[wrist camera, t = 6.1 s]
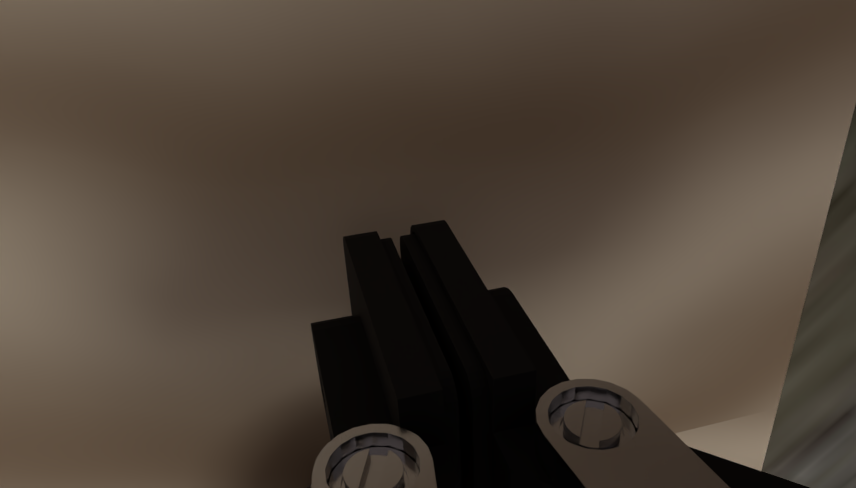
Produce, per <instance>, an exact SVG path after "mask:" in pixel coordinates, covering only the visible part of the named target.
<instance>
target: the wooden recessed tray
mask: <svg viewBox="0 0 856 488" xmlns="http://www.w3.org/2000/svg"><path fill="white" fill-rule="evenodd" d="M855 104H856V0H0V488H306V487H307V486H308V485H310V484H311V483H312V472H313V468H314V464H315V460H316V458H317V456H318V455H319V453H320V452H321V450H322V449H323V447H324V446H325V445H326V444H328V443H329V442H330V441H331V439H330V434H329V429H328V424H327V418H326V413H325V408H324V402H323V397H322V391H321V385H320V380H319V374H318V368H317V362H316V355H315V349H314V343H313V336H312V330H311V323H314V322H320V321H325V320H330V319H336V318H341V317H346V316H352V312H351V304H350V296H349V288H348V279H347V271H346V263H345V255H344V246H343V236H349V235H355V234H361V233H367V232H374V231H377V233H378V235H379V237H380V239H385V238H392V240H393V243H394V245H395V247H396V249H397V252H398V254H399V256H400V258H401V254H400V236H403V235H409V234H410V229H411V225H416V224H422V223H428V222H434V221H440V220H445V221H446V222H447V224H448V225H449V227H450V229H451V230H452V232H453V234H454V235H455V237H456V239H457V240H458V242H459V243H460V245H461V247H462V248H463V250H464V252H465V253H466V255H467V257H468V258H469V260H470V262H471V263H472V265H473V266H474V268H475V270H476V271H477V273H478V275H479V276H480V278H481V280H482V281H483V283H484V285H485V286H486V288H487V289H488V290H491V289H496V288H501V287H506V288H509V289H510V291H511V292H512V293H513V294H514V296H515V297H516V299H517V300H518V302H519V303H520V305H521V306H522V308H523V309H524V311H525V312H526V314H527V316H528V317H529V319H530V320H531V322H532V323H533V325H534V326H535V328H536V329H537V331H538V332H539V334H540V335H541V337H542V338H543V340H544V341H545V343H546V344H547V346H548V347H549V349H550V350H551V352H552V353H553V355H554V356H555V358H556V360H557V361H558V363H559V364H560V366H561V367H562V369H563V370H564V372H565V373H566V375H567V376H568V378H569V379H570V380H574V379H597V380H602V381H606V382H611V383H614V384H616V385H618V386H620V387H623V388H625V389H627V390H628V391H630V392H631V393H632V394H634V395H635V396H636V397H638V398H639V399H640V400H641V401H642V402H643V403H644V404H645V405H646V406H647V407H648V408H649V409H650V410H652V411H653V412H654V413H655V414H656V415H657V416H658V417H659V418H660V419H661V420H662V421H663V422H664V423H665V424H666V425H667V426H668V427H669V428H670V429H671V430H672V431H673V432H674V433H675V434H676V435H677V436H678V437H679V438H680V439H681V440H682V441H683V442H684V443H685V444H686V445H687V446H688V447H691V448H694V449H697V450H700V451H703V452H706V453H709V454H712V455H715V456H718V457H721V458H724V459H727V460H730V461H732V462H735V463H738V464H741V465H744V466H747V467H750V468H753V469H756V470H759V471H761V470H762V466H763V462H764V458H765V454H766V450H767V447H768V443H769V439H770V435H771V431H772V427H773V423H774V419H775V415H776V412H777V408H778V404H779V400H780V396H781V392H782V388H783V384H784V380H785V377H786V373H787V369H788V365H789V361H790V357H791V353H792V349H793V345H794V342H795V338H796V334H797V330H798V326H799V322H800V318H801V314H802V310H803V307H804V303H805V299H806V295H807V291H808V287H809V283H810V279H811V275H812V272H813V268H814V264H815V260H816V256H817V252H818V248H819V244H820V240H821V237H822V233H823V229H824V225H825V221H826V217H827V213H828V209H829V205H830V202H831V198H832V194H833V190H834V186H835V182H836V178H837V174H838V170H839V166H840V163H841V159H842V155H843V151H844V147H845V143H846V139H847V135H848V131H849V128H850V124H851V120H852V116H853V112H854V108H855Z"/></svg>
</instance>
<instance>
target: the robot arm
mask: <svg viewBox="0 0 856 488" xmlns="http://www.w3.org/2000/svg"><path fill="white" fill-rule="evenodd" d="M343 246H344V255H345V263H346V271H347V279H348V288H349V296H350V304H351V312H352V316H346V317H341V318H336V319H330V320H325V321H320V322H314V323H311V330H312V336H313V343H314V349H315V355H316V362H317V368H318V374H319V380H320V385H321V391H322V397H323V402H324V408H325V413H326V418H327V424H328V429H329V434H330V439H331V441H330V442H329V443H328V444H326V445H325V446H324V447H323V449H322V450H321V452H320V453H319V455H318V456H317V458H316V460H315V464H314V468H313V472H312V484H311V488H809V487H806V486H803V485H800V484H797V483H794V482H791V481H789V480H786V479H783V478H780V477H777V476H774V475H771V474H768V473H765V472H762V471H759V470H756V469H753V468H750V467H747V466H744V465H741V464H738V463H735V462H732V461H730V460H727V459H724V458H721V457H718V456H715V455H712V454H709V453H706V452H703V451H700V450H697V449H694V448H691V447H688V446H687V445H686V444H685V443H684V442H683V441H682V440H681V439H680V438H679V437H678V436H677V435H676V434H675V433H674V432H673V431H672V430H671V429H670V428H669V427H668V426H667V425H666V424H665V423H664V422H663V421H662V420H661V419H660V418H659V417H658V416H657V415H656V414H655V413H654V412H653V411H652V410H650V409H649V408H648V407H647V406H646V405H645V404H644V403H643V402H642V401H641V400H640V399H639V398H638V397H636V396H635V395H634V394H632V393H631V392H630V391H628V390H627V389H625V388H623V387H620V386H618V385H616V384H614V383H611V382H606V381H602V380H597V379H574V380H570V379H569V378H568V376H567V375H566V373H565V372H564V370H563V369H562V367H561V366H560V364H559V363H558V361H557V360H556V358H555V356H554V355H553V353H552V352H551V350H550V349H549V347H548V346H547V344H546V343H545V341H544V340H543V338H542V337H541V335H540V334H539V332H538V331H537V329H536V328H535V326H534V325H533V323H532V322H531V320H530V319H529V317H528V316H527V314H526V312H525V311H524V309H523V308H522V306H521V305H520V303H519V302H518V300H517V299H516V297H515V296H514V294H513V293H512V292H511V291H510V289H509V288H506V287H501V288H496V289H491V290H488V289H487V288H486V286H485V285H484V283H483V281H482V280H481V278H480V276H479V275H478V273H477V271H476V270H475V268H474V266H473V265H472V263H471V262H470V260H469V258H468V257H467V255H466V253H465V252H464V250H463V248H462V247H461V245H460V243H459V242H458V240H457V239H456V237H455V235H454V234H453V232H452V230H451V229H450V227H449V225H448V224H447V222H446V221H445V220H440V221H434V222H428V223H422V224H416V225H411V229H410V234H409V235H403V236H400V254H401V258H400V256H399V254H398V252H397V249H396V247H395V245H394V243H393V240H392V238H385V239H380V237H379V235H378V233H377V231H374V232H367V233H361V234H355V235H349V236H343Z"/></svg>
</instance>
